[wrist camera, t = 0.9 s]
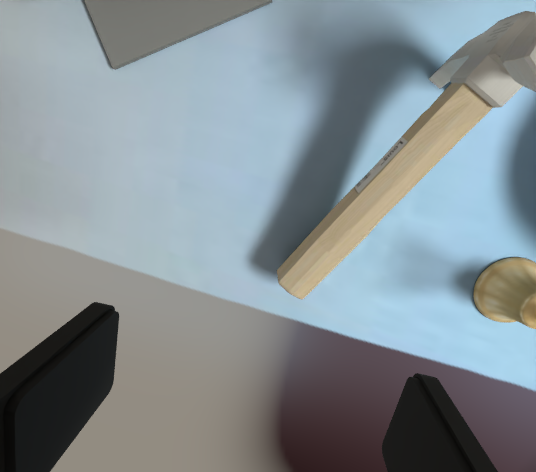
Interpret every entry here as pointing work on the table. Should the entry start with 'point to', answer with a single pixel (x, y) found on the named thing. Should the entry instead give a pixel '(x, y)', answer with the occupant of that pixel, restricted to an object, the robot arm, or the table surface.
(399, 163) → the hammer
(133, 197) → the table surface
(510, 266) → the hand bell
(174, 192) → the table surface
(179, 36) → the floor section
